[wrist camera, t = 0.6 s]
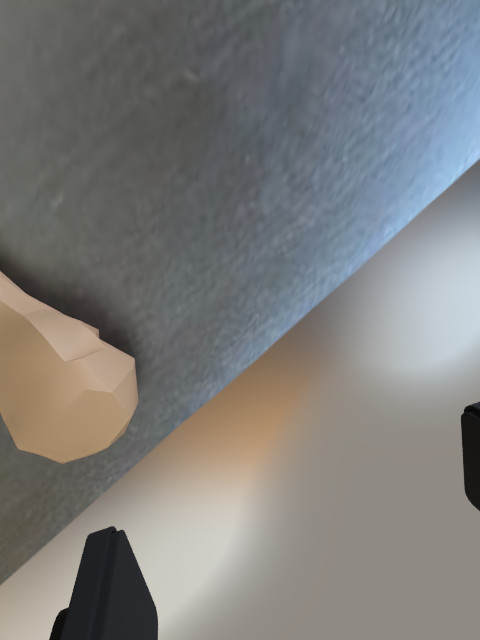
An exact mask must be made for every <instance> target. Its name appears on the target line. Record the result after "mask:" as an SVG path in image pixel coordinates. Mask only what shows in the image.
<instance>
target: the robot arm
mask: <svg viewBox="0 0 480 640" xmlns="http://www.w3.org/2000/svg"><path fill="white" fill-rule="evenodd" d="M461 429H462V447H463V466H464V484H465V493H466V496H467V497H468V499H469V501H470V502H471V503H472V504H473V505H474V506H475V507H476V508H477V509H478V510H479V511H480V402H478V403H475V404H472V405H469V406H467V407H465V409H464V413H463V414H462V415H461ZM49 640H158V617H157V611H156V607H155V604H154V601H153V599H152V597H151V594H150V592H149V589H148V587H147V585H146V582H145V580H144V577H143V575H142V572H141V570H140V568H139V566H138V563H137V560H136V558H135V555H134V553H133V551H132V548H131V546H130V543H129V541H128V539H127V536H126V534H125V532H124V530H120V531H117V530H116V528H115V527H114V526H111V527H109V528H106V529H103V530H100V531H97V532H94V533H91V534H89V535H88V537H87V539H86V543H85V547H84V551H83V554H82V559H81V562H80V566H79V570H78V573H77V578H76V581H75V585H74V589H73V593H72V597H71V601H70V604H69V607H68V608H66V609H63V610H61V611H60V612H59V614H58V615H57V617H56V620H55V622H54V625H53V628H52V632H51V636H50V639H49Z"/></svg>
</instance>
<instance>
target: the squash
mask: <svg viewBox="0 0 480 640" xmlns="http://www.w3.org/2000/svg"><path fill="white" fill-rule="evenodd" d="M138 402H139V401H138V390H137V380H136V370H135V359H134V358H133V357H131V356H129V355H128V354H126V353H124V352H122V351H120V350H119V349H117V348H115V347H113V346H111V345H109V344H108V343H106V342H104V341H102V340H100V339H99V330H98V329H96V328H94V327H92V326H90V325H88V324H86V323H84V322H82V321H80V320H77V319H74V318H71V317H68V316H66V315H64V314H62V313H61V312H59V311H57V310H55V309H53V308H51V307H50V306H48V305H46V304H44V303H42V302H40V301H38V300H37V299H35V298H33V297H31V296H29V295H27V294H26V293H25V292H24V291H22V290H21V289H20V288H19V287H18V286H17V285H16V284H14V283H13V282H12V281H11V280H10V279H9V278H8V277H7V276H5V275H4V274H3V273H2V272H1V271H0V413H1V415H2V417H3V420H4V422H5V424H6V426H7V428H8V430H9V432H10V434H11V436H12V438H13V440H14V442H15V444H16V446H17V448H18V449H20V450H24V451H28V452H31V453H35V454H39V455H42V456H44V457H47V458H50V459H52V460H55V461H57V462H60V463H65V462H69V461H72V460H75V459H79V458H82V457H85V456H89V455H92V454H94V453H97V452H99V451H101V450H103V449H105V448H107V447H109V446H110V445H111V444H112V443H113V442H115V441H116V440H117V439H118V438H119V437H120V436H122V435H123V434H124V433H125V431H126V429H127V427H128V424H129V422H130V420H131V418H132V415H133V413H134V411H135V409H136V407H137V404H138Z"/></svg>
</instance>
